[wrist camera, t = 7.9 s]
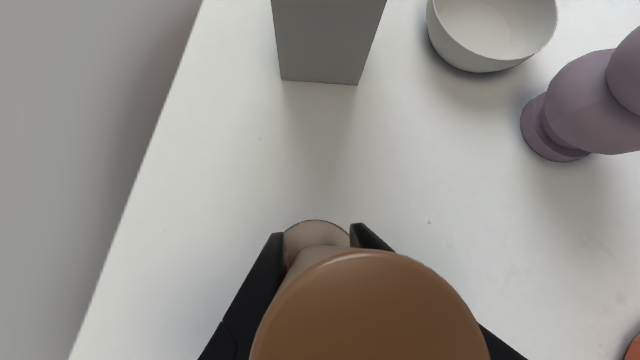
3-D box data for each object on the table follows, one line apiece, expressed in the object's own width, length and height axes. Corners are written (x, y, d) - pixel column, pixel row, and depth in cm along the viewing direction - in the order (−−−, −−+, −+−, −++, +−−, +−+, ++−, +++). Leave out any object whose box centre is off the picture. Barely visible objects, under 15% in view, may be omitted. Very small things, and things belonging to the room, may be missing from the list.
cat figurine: (590, 87, 27) (810, -33, 15) (610, 168, 25) (875, 105, 14) (502, 86, 26) (661, -38, 15) (517, 170, 25) (709, 104, 13)
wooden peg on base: (347, 320, 16) (654, 855, 2) (260, 299, 16) (-41, 695, 2) (364, 232, 17) (640, 180, 3) (283, 212, 17) (191, 72, 3)
